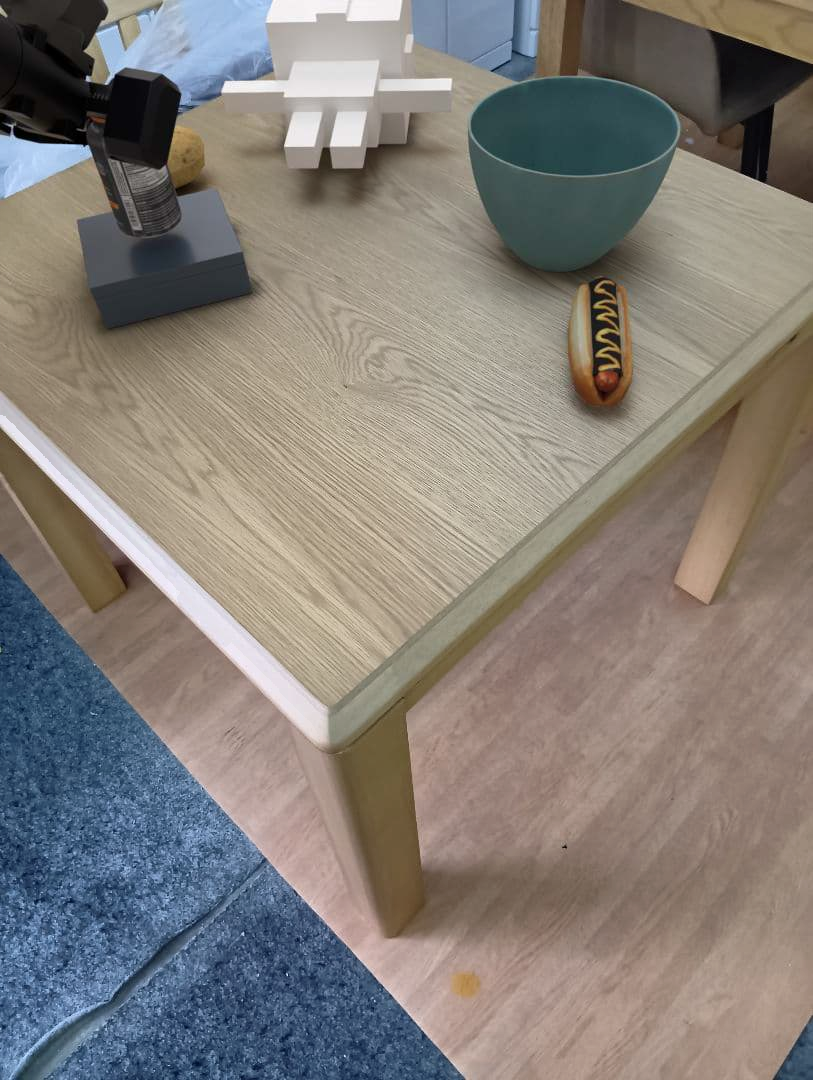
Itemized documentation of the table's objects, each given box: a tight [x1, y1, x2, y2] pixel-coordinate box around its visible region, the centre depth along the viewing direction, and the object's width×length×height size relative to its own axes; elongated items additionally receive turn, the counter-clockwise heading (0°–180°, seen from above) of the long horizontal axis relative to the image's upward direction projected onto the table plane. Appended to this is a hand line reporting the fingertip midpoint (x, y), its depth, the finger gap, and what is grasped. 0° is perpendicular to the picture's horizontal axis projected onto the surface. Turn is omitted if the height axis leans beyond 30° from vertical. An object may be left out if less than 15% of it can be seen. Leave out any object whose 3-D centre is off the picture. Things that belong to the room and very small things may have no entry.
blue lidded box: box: [76, 187, 253, 330], centre depth 76 cm, size 14×12×4 cm
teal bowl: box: [467, 75, 682, 273], centre depth 73 cm, size 18×18×12 cm
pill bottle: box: [86, 97, 182, 238], centre depth 69 cm, size 6×6×11 cm
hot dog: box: [567, 275, 634, 408], centre depth 66 cm, size 5×13×5 cm, turn 174°
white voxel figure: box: [220, 0, 453, 169], centre depth 87 cm, size 15×25×28 cm
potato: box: [167, 125, 206, 190], centre depth 86 cm, size 7×11×6 cm, turn 94°
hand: (138, 145), depth 69 cm, fingers closed on pill bottle, 6 cm apart
